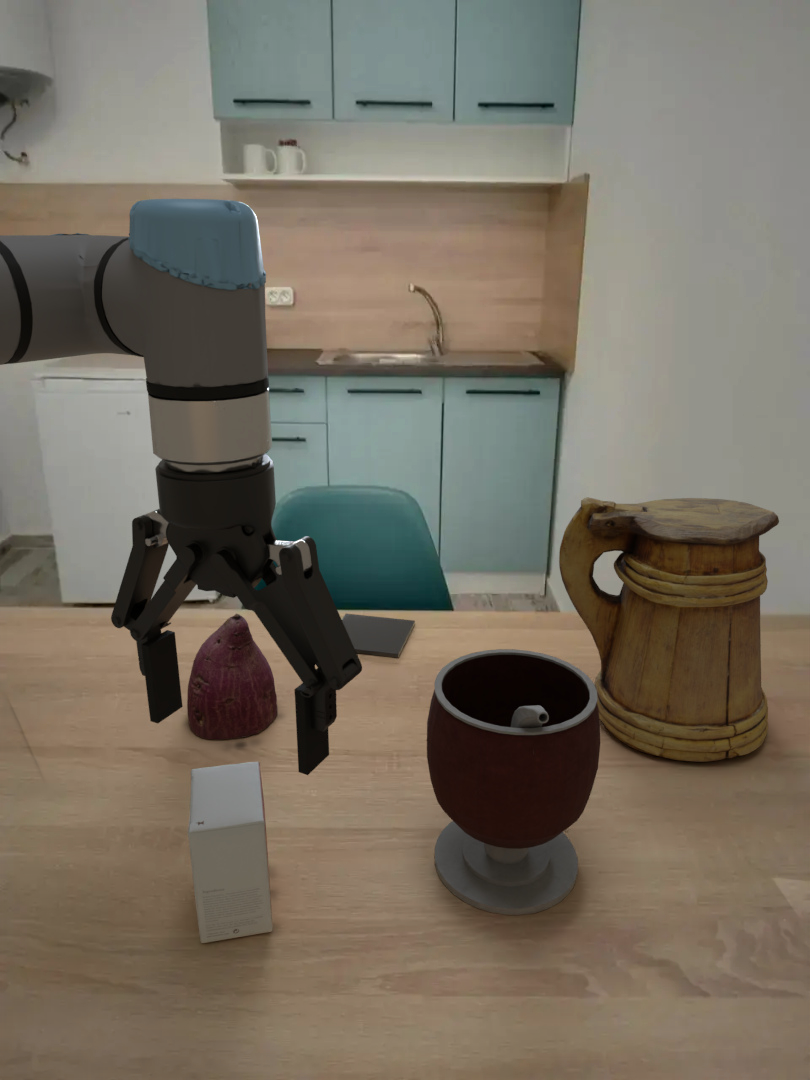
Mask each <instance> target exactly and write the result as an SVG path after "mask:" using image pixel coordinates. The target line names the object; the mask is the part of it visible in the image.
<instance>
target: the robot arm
mask: <svg viewBox="0 0 810 1080" xmlns="http://www.w3.org/2000/svg"><path fill="white" fill-rule="evenodd" d="M128 216H129V231H128V232H129V233H128V235H127V236H124V235H122V236H121V235H105V234H104V235H102V234H100V235H99V234H98V235H97V234H87V233H80V232H76V233H70V234H69V233H54V234H48V235H47V234H28V235H27V234H22V235H21V234H18V235H17V234H15V235H12V234H9V235H0V366H2V365H3V366H4V365H12V364H13V365H14V364H20V363H21V364H22V363H29V362H37V361H38V362H39V361H46V360H55V359H61V358H70V357H71V358H72V357H78V356H79V357H80V356H88V355H95V354H97V355H98V354H114V355H125V356H135V357H138V358H143V362H144V363H143V364H144V369H145V385H146V391H147V398H148V408H149V409H148V410H149V420H150V432H151V442H152V443H151V445H152V454H153V455H154V456H156V457H157V458H158V459H160V460H159V462H158V464H157V465H156V467H155V470H154V471H155V479H156V488H157V497H158V499H157V500H158V507H159V508H158V509H155V510H152V511H150V512H147V513H145V514H142V515H139V516H137V517H134V518H133V519H132V521H131V535H132V536H131V537H132V547H131V550H130V553H129V555H128V556H129V557H128V560H127V563H126V565H125V570H124V573H123V576H122V579H121V582H120V585H119V590H118V593H117V596H116V599H115V603H114V606H113V610H112V612H111V616H110V620H111V624H112V625H113V626H114V627H115V628H117V629H121V628H125V629H127V630H129V634H130V636H131V638H132V639H133V640H134V641H135V642H136V650H137V651H136V652H137V657H138V665H139V666H138V668H139V670H140V673H141V675H142V677H143V676H144V678H145V680H144V681H145V686H146V695H147V696H146V697H147V704H148V713H149V720H150V722H152V723H155V724H160V723H162V721H164V720H166V719H167V718H169V717H170V716H171V715H173V714H174V713H176V712H178V711H179V710H180V709H182V708H183V699H182V698H183V697H182V689H181V679H180V669H179V661H178V659H179V658H178V650H177V641H176V632H175V631H172V630H169V629H166V630H164V631H163V632H162V629H164V628H167V627H168V626H170V625H171V624H172V622H170V620H172V618H173V616H174V615H175V614H176V612H177V611H178V610H179V608H180V607H182V605H183V603H184V602H185V601H186V599H187V598H188V597H189V596H190V594H191V593H192V592H193V590H194V589H195V587H196V586H197V590H198V591H199V590H200V591H203V592H217V593H219V594H221V595H222V596H224V597H227V598H231V599H234V598H237V599H238V600H239V602H240V603H241V605H242V607H244V608H245V609H246V610H248V611H252V612H253V613H254V614H255V615H256V617H257V618H258V620H259V621H260V622H261V625H263V627H264V628H265V630H266V631H267V633H268V634H269V636H270V637H271V638H272V640H273V641H274V643H275V644H276V646H277V647H278V649H279V650H280V651H281V653H282V655H283V656H284V657H285V659H286V661H287V662H288V663H289V665H290V666H291V668H292V669H293V671H294V672H295V673H296V675H297V676H298V678H299V679H300V681H301V682H302V683H301V684H300V685H298V686H297V687H295V688H294V705H295V706H294V707H295V725H296V726H295V727H296V745H297V746H296V747H297V748H296V749H297V764H298V765H297V766H298V767H297V768H298V773H300V774H303V775H306V776H309V775H310V774H311V773H312V772H313V771H314V770H315V769H316V768H317V767H318V766H320V764H321V763H322V762H323V761H325V759H327V757H329V756H330V739H329V727H330V726H331V725H333V724H334V723H335V721H336V720H337V716H338V713H337V712H338V711H337V706H338V705H337V691H340V690H342V689H343V688H344V687H345V686H347V685H348V684H349V683H350V682H351V681H352V680H354V679H355V678H356V677H357V676H358V675H359V674H360V673H361V672H362V670H363V665H362V662H361V660H360V658H359V656H358V653H356V651H355V649H354V646H353V644H352V642H351V640H350V637H349V635H348V633H347V631H346V628H345V626H344V624H343V622H342V618H341V615H340V613H339V610H338V608H337V606H336V604H335V601H334V599H333V597H332V595H331V593H330V589H329V588H328V586H327V584H326V581H325V579H324V577H323V575H322V572H321V570H320V565H319V557H318V556H319V555H318V550H317V544H316V541H315V540H314V538H313V537H311V536H308V535H305V536H303V537H301V538H298V539H297V540H295V541H292V540H278V539H277V537H276V535H275V532H274V529H273V526H272V523H273V522H272V521H273V516H274V513H275V509H276V507H277V506H276V505H277V503H276V502H277V498H276V483H275V465H274V461H273V460H272V459H271V458H270V456H269V455H268V454H267V453H268V452H270V450H271V449H272V448H273V434H272V418H271V402H270V401H271V400H270V381H269V380H270V378H269V367H268V366H269V365H268V345H267V344H268V343H267V322H266V321H267V320H266V283H267V272H266V270H265V267H264V259H263V252H262V244H261V243H262V242H261V235H260V228H259V221H258V217H257V215H256V213H255V211H254V210H253V209H252V208H251V207H250V205H247V204H246V203H245V202H242V201H238V200H232V199H211V198H210V199H209V198H151V199H150V198H149V199H143V200H141V199H140V200H138V201H136V202H135V203H134V204H132V205H131V208H130V210H129V215H128ZM169 546H170V548H171V550H172V551H173V553H174V554H175V558H176V559H175V560H174V561H173V563H172V564H171V566H170V567H169V569H168V570H167V571H166V573H165V574H164V576H163V578H162V579H163V582H162V583H161V585H160V586H159V587H158V589H157V590H156V591H155V589H156V586H157V583H158V579H159V576H160V573H161V571H162V567H163V564H164V562H165V559H166V556H167V552H168V549H169ZM274 562H275V563H274ZM275 564H276V565H277V566H276V565H275ZM261 581H263V582H264V584H265V585H266V586H264V587H262V588H261V589H259V590H257V589H256V587H257V586H258V585H259V584H260V582H261ZM154 592H155V593H154ZM316 667H317V668H316Z"/></svg>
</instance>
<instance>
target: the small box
mask: <svg viewBox="0 0 810 1080" xmlns="http://www.w3.org/2000/svg"><path fill="white" fill-rule="evenodd" d="M263 789H264V788H263V781H262V772H261V762H260V761H247V762H240V763H230V764H222V765H215V766H207V767H198V768H193V769H191V770H190V799H189V800H190V802H189V818H188V826H187V827H188V828H187V839H188V845H189V846H188V847H189V855H190V865H191V873H192V883H193V891H194V892H193V893H194V901H195V909H196V918H197V927H198V934H199V940H200V943H201V944H206V943H213V942H217V941H225V940H230V939H235V938H241V937H248V936H253V935H258V934H259V935H260V934H266V933H270V932H273V929H274V927H273V912H272V898H271V883H270V870H269V852H268V838H267V821H266V809H265V799H264V790H263Z"/></svg>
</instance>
